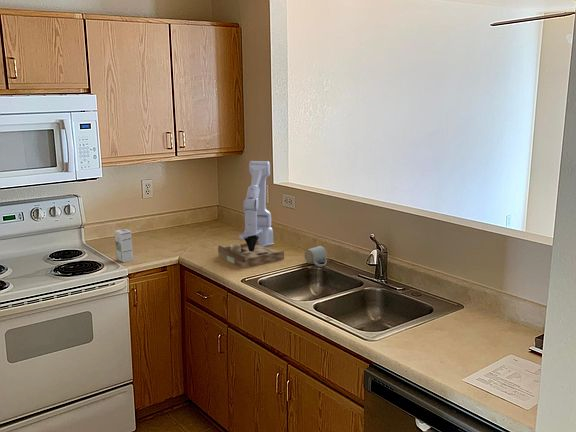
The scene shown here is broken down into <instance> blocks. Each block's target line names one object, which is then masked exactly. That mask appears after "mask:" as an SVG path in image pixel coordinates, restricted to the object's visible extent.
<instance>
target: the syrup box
mask: <svg viewBox="0 0 576 432" xmlns="http://www.w3.org/2000/svg"><path fill="white" fill-rule="evenodd" d="M114 239H115V241H114V242H115V252H116V261H118V262H121V263H126V262H131V261H134V254H133V243H132V242H133V241H132V231H131V230H129V229H126V228H121V229H117V230H114Z"/></svg>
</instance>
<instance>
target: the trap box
mask: <svg viewBox="0 0 576 432" xmlns="http://www.w3.org/2000/svg"><path fill="white" fill-rule="evenodd" d="M239 244H240V246H241V254H239V253H236V252H234V251H232V250H230V246H225V247H224V246H221V245H220V244H219V245H217V251H218V252H217V253H218V257H219V258H220V259H223V260H225V261H227V262H229V263H231V264H234V265H237V266H239V267H241V268H243V269H246V268H249V267H256V266H260V265H263V264H269V263H271V262H277V261H280V260H284V259H285V250H278V251H277V250H275V249H272V248H270V247H267V246H262V245H259V244H258V241H257V242H256V244H255V248H254V251H252V252H251V251H249V249H248V245H247V243H239Z"/></svg>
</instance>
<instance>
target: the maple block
mask: <svg viewBox="0 0 576 432" xmlns="http://www.w3.org/2000/svg"><path fill="white" fill-rule="evenodd" d="M240 244H241V243H231V244H229V247H230V250H232V251H234V252H236V253H239V254H241V246H240Z"/></svg>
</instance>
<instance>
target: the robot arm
mask: <svg viewBox="0 0 576 432" xmlns="http://www.w3.org/2000/svg"><path fill="white" fill-rule="evenodd" d="M248 170H249V173H250V175H251V184H250V185H249V186H248V187H247V191H246V197H245V199H243V203H242V205H243V206H242V207H243V213H244V231H243V232H242V233H241V234H239V235H238V239H239V240H242V241H243V240H244V241H245V242H246V243H247V245H248V249H249V251H251V252H252V251H254V248H255V244H256V242H257V241H258V244H259V245H262V246H265V247H267V246H272V245H275V243H274V230H273V228H272V227H271V226H272V213H271V212H270V211H269V210H268V209H267V204H266V203H267V202H266V201H267V178H269V177H270V176H271V163H270V161H269V160H267V161H264V160H261V161H259V160H250V161H249V164H248Z"/></svg>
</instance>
